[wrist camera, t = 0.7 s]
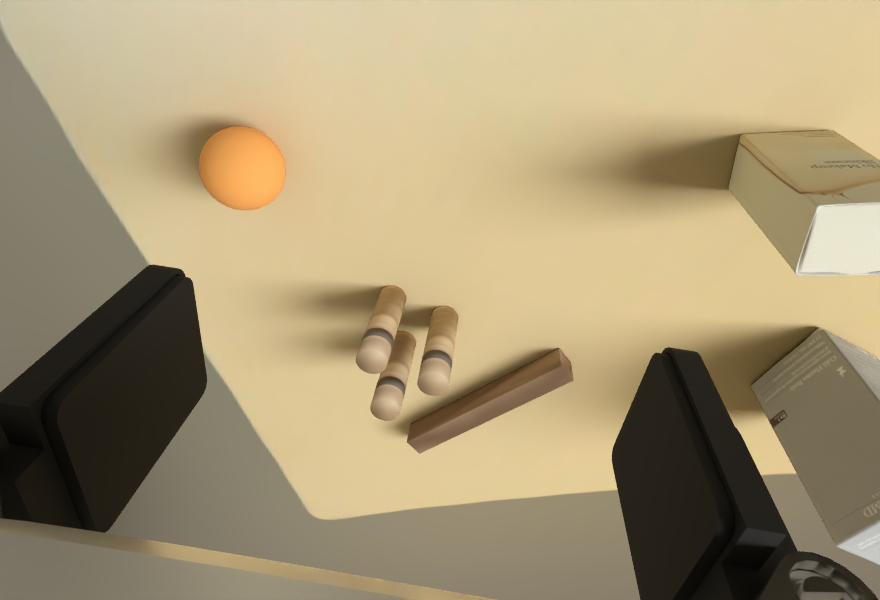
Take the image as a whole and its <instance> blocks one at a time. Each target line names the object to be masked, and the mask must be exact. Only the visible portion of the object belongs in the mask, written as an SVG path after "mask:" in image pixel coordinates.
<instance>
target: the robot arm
mask: <svg viewBox="0 0 880 600" xmlns="http://www.w3.org/2000/svg"><path fill="white" fill-rule="evenodd" d="M206 383H207V375H206V368H205V361H204V355H203V348H202V341H201V334H200V328H199V321H198V314H197V307H196V301H195V294H194V287H193V282H192V280H191V279H190V278H188V277H185V274H184V272H183V271H182V270H181V269H177V268H171V267H165V266H159V265H149V266H147V267H146V268H145V269H143V270H142V271H141V272H140V273H139V274H138V275H137V276H136V277H134V278H133V279H132V280H131V281H130V282H128V283H127V284H126V285H125V286H124V287H123V288H121V289H120V290H119V291H118V292H117V293H116V294H114V295H113V296H112V297H111V298H110V299H109V300H108V301H106V302H105V303H104V304H103V305H102V306H101V307H99V308H98V309H97V310H96V311H95V312H93V313H92V314H91V315H90V316H89V317H88V318H86V319H85V320H84V321H83V322H82V323H81V324H80V325H78V326H77V327H76V328H75V329H74V330H73V331H71V332H70V333H69V334H68V335H67V336H66V337H64V338H63V339H62V340H61V341H60V342H58V343H57V344H56V345H55V346H54V347H53V348H51V350H49V351H48V352H47V353H46V354H45V355H43V356H42V357H41V358H40V359H39V360H38V361H36V362H35V363H34V364H33V365H32V366H31V367H29V368H28V369H27V370H26V371H25V372H24V373H22V374H21V375H20V376H19V377H18V378H17V379H15V381H13V382H12V383H11V384H10V385H8V386H7V387H6V388H5V389H4V390H3V391H2V392H0V600H496V599H490V598H484V597H479V596H473V595H467V594H462V593H456V592H451V591H445V590H439V589H434V588H428V587H422V586H416V585H411V584H405V583H399V582H393V581H388V580H381V579H376V578H370V577H364V576H358V575H353V574H347V573H341V572H336V571H329V570H324V569H318V568H312V567H306V566H300V565H295V564H289V563H283V562H277V561H271V560H266V559H259V558H254V557H248V556H242V555H235V554H230V553H224V552H217V551H212V550H205V549H200V548H194V547H188V546H181V545H176V544H170V543H163V542H158V541H152V540H146V539H140V538H134V537H128V536H122V535H116V534H108V533H105V532H106V531H108V530H109V529H110V527H111V526H112V525H113V523H114V522H115V521H116V519H117V518H118V516H119V515H120V513H121V512H122V510H123V509H124V508H125V506H126V505H127V503H128V502H129V500H130V499H131V497H132V496H133V495H134V493H135V492H136V490H137V489H138V487H139V486H140V485H141V483H142V482H143V480H144V479H145V477H146V476H147V475H148V473H149V472H150V470H151V469H152V467H153V466H154V464H155V463H156V462H157V460H158V459H159V457H160V456H161V454H162V453H163V452H164V450H165V449H166V447H167V446H168V444H169V443H170V441H171V440H172V439H173V437H174V436H175V434H176V433H177V431H178V430H179V428H180V427H181V426H182V424H183V423H184V421H185V420H186V418H187V417H188V416H189V414H190V413H191V411H192V410H193V408H194V407H195V405H196V404H197V403H198V401H199V400H200V398H201V397H202V395H203V394H204V391H205V388H206ZM612 464H613V469H614V474H615V479H616V483H617V488H618V493H619V498H620V503H621V508H622V512H623V517H624V522H625V527H626V531H627V536H628V541H629V546H630V551H631V556H632V561H633V565H634V570H635V575H636V580H637V584H638V589H639V594H640V599H641V600H879V599H878V598H877V596H876V595H875V594H874V593H873V591H872V590H871V589H870V588H869V587H868V586H867V585H866V584H865V583H864V582H863V581H862V580H861V579H860V578H859V577H857V576H856V575H855V574H853V573H852V572H851V571H850V570H848V569H847V568H846V567H844V566H842V565H841V564H839V563H837V562H835V561H834V560H832V559H830V558H828V557H825V556H822V555H819V554H816V553H813V552H805V551H797V549H796V547H795V545H794V543H793V541H792V539H791V536H790V534H789V532H788V530H787V528H786V526H785V524H784V522H783V520H782V518H781V516H780V514H779V512H778V510H777V508H776V506H775V504H774V502H773V500H772V497H771V495H770V494H769V491H768V489H767V487H766V485H765V483H764V481H763V479H762V477H761V475H760V473H759V471H758V469H757V467H756V465H755V463H754V461H753V459H752V457H751V455H750V452H749V450H748V448H747V446H746V444H745V442H744V440H743V438H742V436H741V434H740V433H739V431H738V430H737V428H736V427H735V426H734V424H733V422H732V420H731V418H730V416H729V414H728V412H727V410H726V408H725V406H724V404H723V401H722V399H721V397H720V395H719V393H718V391H717V389H716V387H715V385H714V383H713V381H712V379H711V377H710V375H709V373H708V370H707V368H706V366H705V364H704V362H703V360H702V358H701V356H700V355H699V353H697V352H694V351H688V350H681V349H675V348H669V347H668V348H665V349H664V350H663V352H662V353H661V354H660V353H655V354H654V355H653V356H652V358H651V360H650V362H649V365H648V367H647V369H646V372H645V374H644V376H643V379H642V381H641V383H640V386H639V388H638V390H637V393H636V395H635V397H634V400H633V402H632V404H631V407H630V409H629V411H628V414H627V416H626V418H625V421H624V423H623V425H622V428H621V430H620V432H619V435H618V437H617V439H616V442H615V444H614V447H613V451H612Z"/></svg>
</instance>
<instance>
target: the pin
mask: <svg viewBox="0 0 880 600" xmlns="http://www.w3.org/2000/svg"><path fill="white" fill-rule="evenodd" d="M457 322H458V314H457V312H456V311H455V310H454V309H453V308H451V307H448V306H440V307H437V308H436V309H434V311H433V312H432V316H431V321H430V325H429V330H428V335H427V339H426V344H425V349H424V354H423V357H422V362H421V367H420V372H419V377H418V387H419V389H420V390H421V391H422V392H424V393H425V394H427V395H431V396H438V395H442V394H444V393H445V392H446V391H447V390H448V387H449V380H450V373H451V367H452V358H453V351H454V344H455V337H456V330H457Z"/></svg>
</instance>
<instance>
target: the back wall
mask: <svg viewBox="0 0 880 600" xmlns="http://www.w3.org/2000/svg"><path fill="white" fill-rule="evenodd" d="M571 381H573V374H572V367H571V362H570V361H569V360H568V358H567V357H566V356H565V355H564V353H563V352H562V351H561V350H560V349H557V350H555V351H553V352H551V353H549V354H547V355H545V356H543V357H541V358H539V359H537V360H535V361H533V362H531V363H529V364H527V365H525V366H523V367H521V368H519V369H517V370H515V371H513V372H511V373H510V374H508V375H506V376H504V377H502V378H500V379H498V380H496V381H494V382H492V383H490V384H488V385H486V386H484V387H482V388H480V389H478V390H476V391H474V392H472V393H470V394H468V395H466V396H464V397H462V398H461V399H459V400H457V401H455V402H453V403H451V404H449V405H447V406H445V407H443V408H441V409H439V410H437V411H435V412H433V413H431V414H429V415H427V416H425V417H423V418H421V419H419V420H417V421H415V422H413V423H411V425H410V430H409V434H408V439H407V443H408V444H410V445H411V446H412V447H413V448H414V449H415V450H416V451H417V452H418V453H419V454H420V453H422V452H424V451H426V450H428V449H430V448H432V447H434V446H437V445H439V444H441V443H443V442H445V441H447V440H449V439H451V438H453V437H456V436H458V435H460V434H462V433H464V432H466V431H468V430H470V429H472V428H474V427H477V426H479V425H481V424H483V423H485V422H487V421H489V420H491V419H493V418H495V417H498V416H500V415H502V414H504V413H506V412H508V411H510V410H512V409H514V408H516V407H519V406H521V405H523V404H525V403H527V402H529V401H531V400H533V399H535V398H537V397H540V396H542V395H544V394H546V393H548V392H550V391H552V390H554V389H556V388H559V387H561V386H563V385H565V384H567V383H569V382H571Z"/></svg>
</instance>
